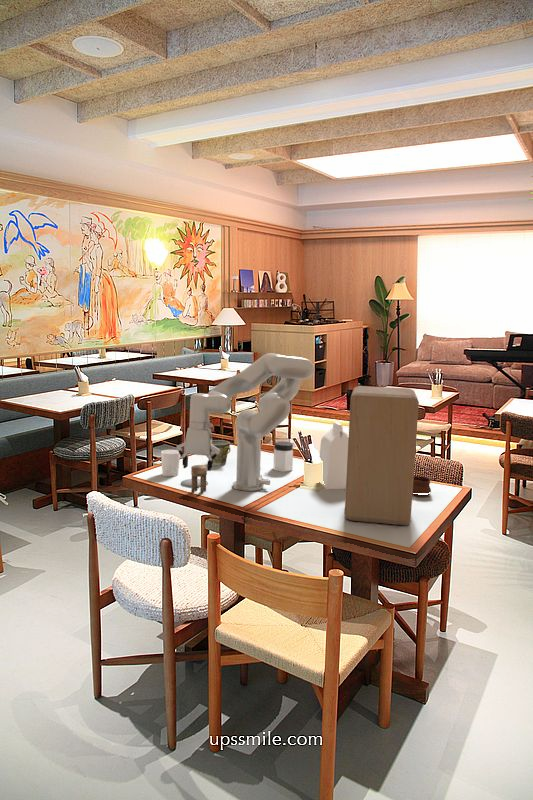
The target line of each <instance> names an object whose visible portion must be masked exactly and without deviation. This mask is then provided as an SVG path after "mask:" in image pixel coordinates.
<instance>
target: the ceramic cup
mask: <svg viewBox="0 0 533 800" xmlns="http://www.w3.org/2000/svg"><path fill="white" fill-rule="evenodd" d="M212 445H214V446H215V447H217V448H218V449H220V452H219V454H218V455H217V457H215V458H214V459H213V466H224V465H226V464H227V458H228V454H229V453H230V452H231V442H230V441H228V440H223V439H215V440H213V439H212ZM211 454H212V455H214V454H215V451H214V450H213V449H212V452H211Z"/></svg>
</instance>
